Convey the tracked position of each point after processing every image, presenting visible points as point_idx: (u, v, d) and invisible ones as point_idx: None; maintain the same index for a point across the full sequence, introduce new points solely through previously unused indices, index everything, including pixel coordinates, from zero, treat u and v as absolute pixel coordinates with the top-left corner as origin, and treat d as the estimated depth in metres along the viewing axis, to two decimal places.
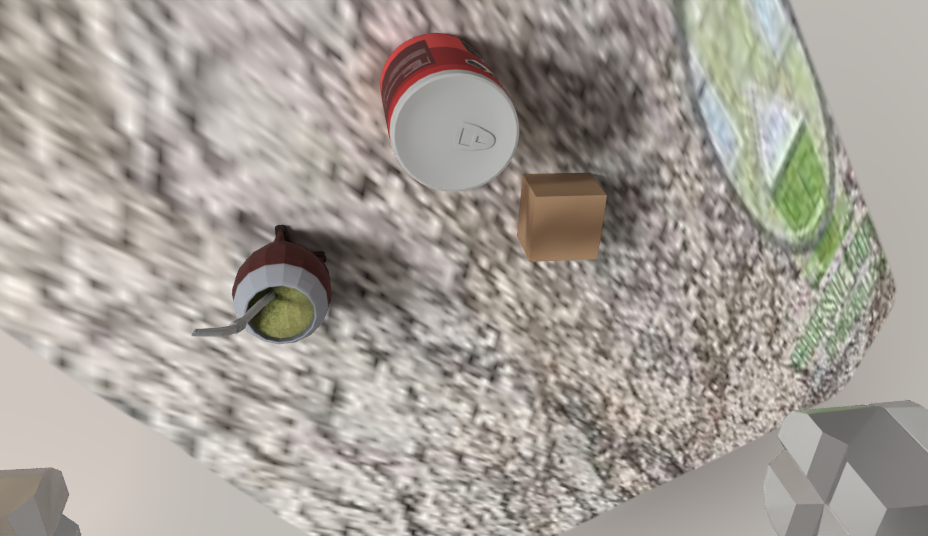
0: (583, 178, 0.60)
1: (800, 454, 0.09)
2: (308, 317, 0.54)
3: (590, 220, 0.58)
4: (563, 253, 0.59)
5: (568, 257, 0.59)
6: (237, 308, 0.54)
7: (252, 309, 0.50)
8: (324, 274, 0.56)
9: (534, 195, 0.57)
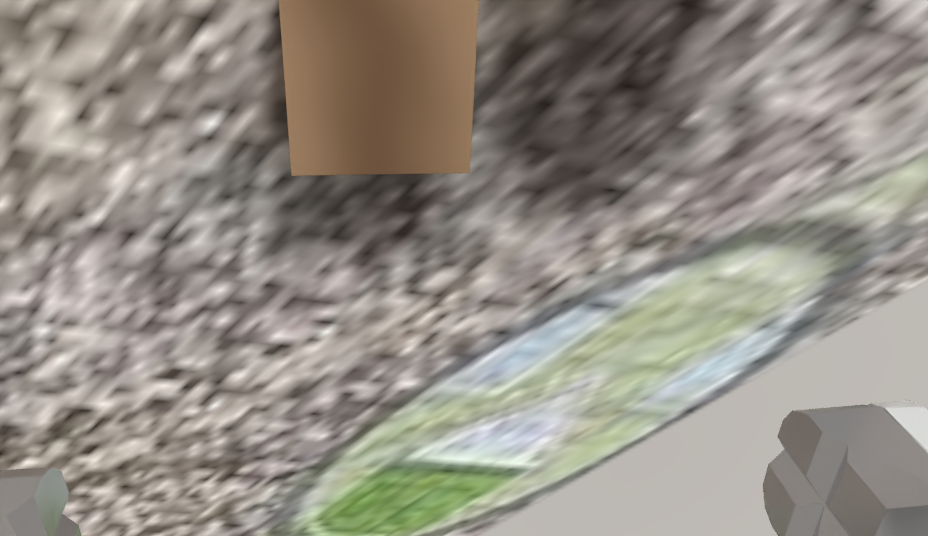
0: None
1: (800, 454, 0.09)
2: None
3: (404, 142, 0.23)
4: (306, 83, 0.22)
5: (294, 99, 0.22)
6: None
7: None
8: None
9: None
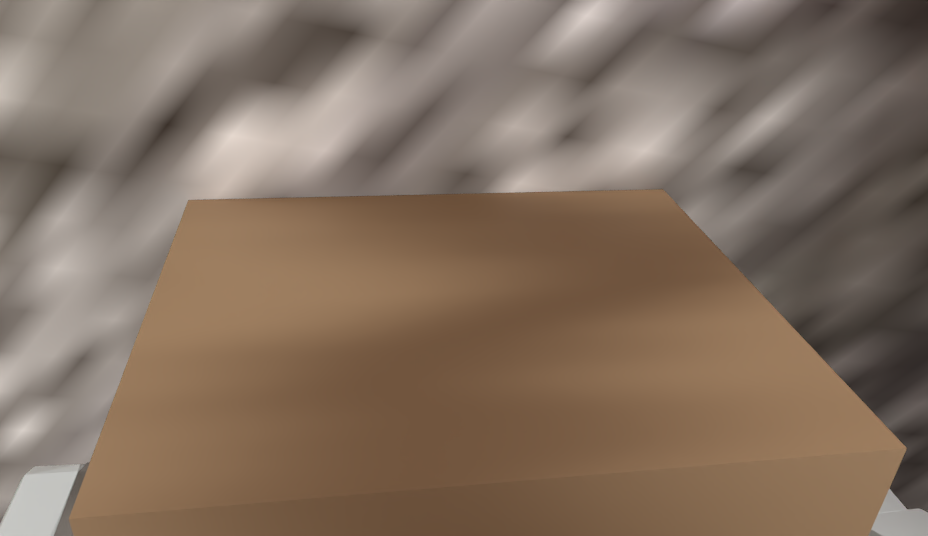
0: None
1: None
2: None
3: None
4: None
5: None
6: None
7: None
8: None
9: (857, 406, 0.06)
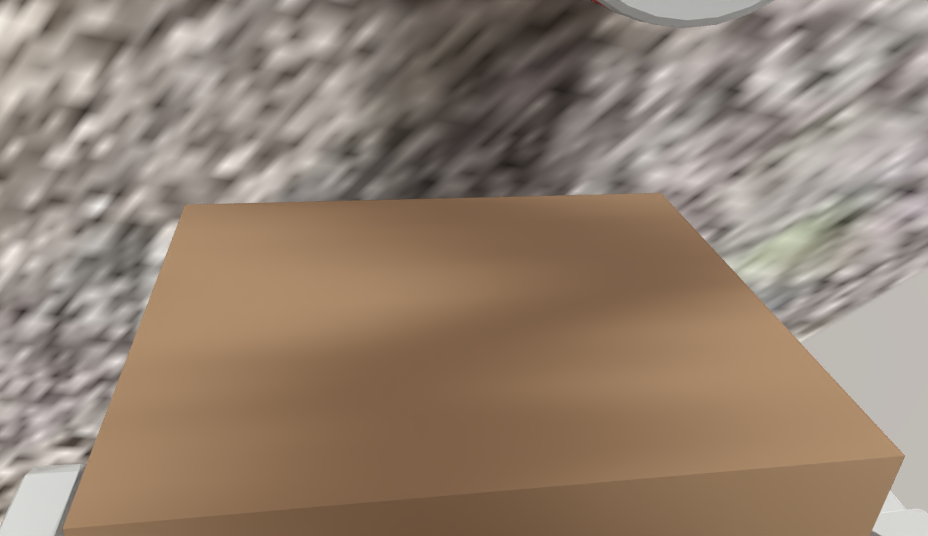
0: None
1: None
2: None
3: None
4: None
5: None
6: None
7: None
8: None
9: (855, 413, 0.06)
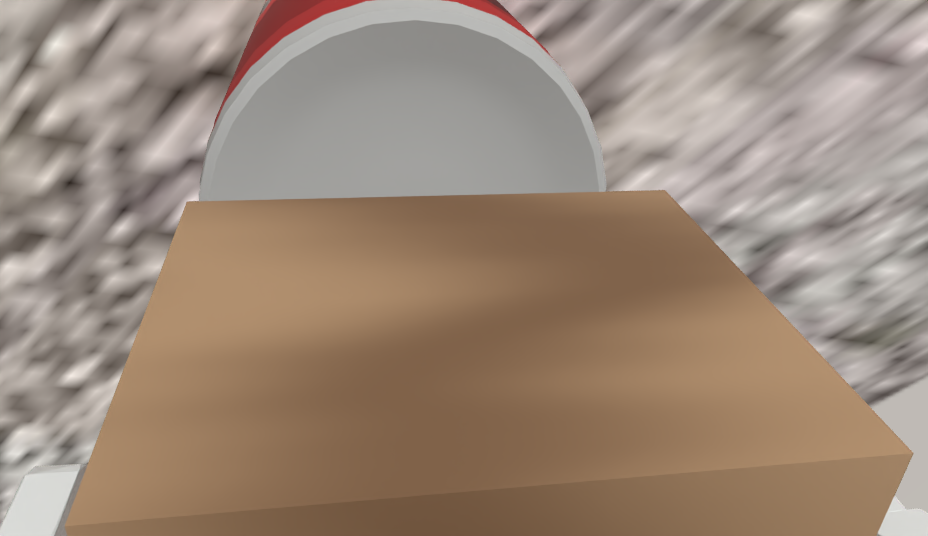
0: None
1: None
2: None
3: None
4: None
5: None
6: None
7: None
8: None
9: (861, 408, 0.06)
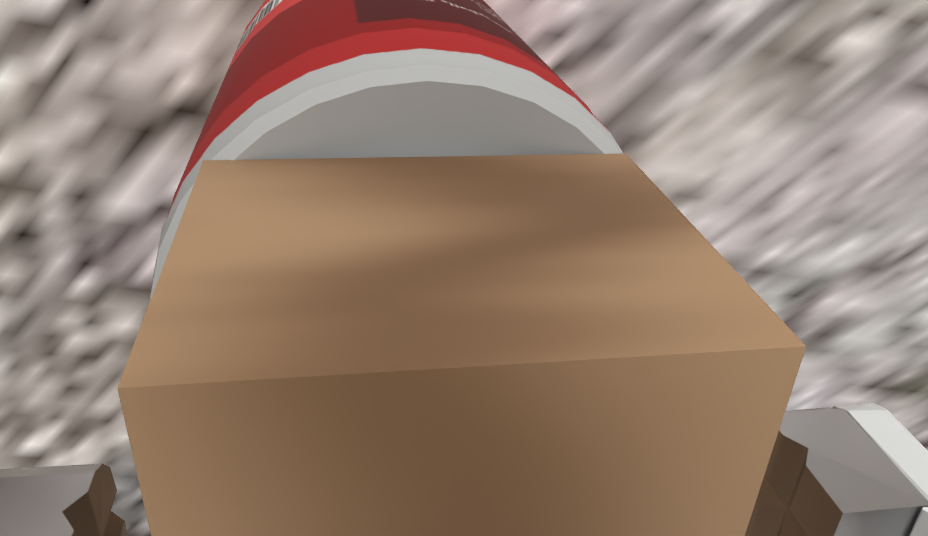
0: None
1: None
2: None
3: None
4: None
5: None
6: None
7: None
8: None
9: (769, 317, 0.07)
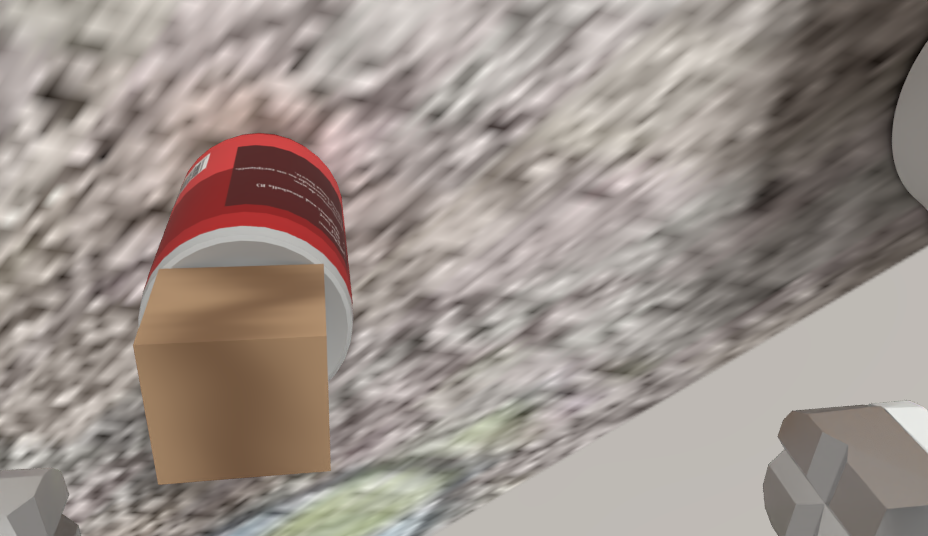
0: None
1: (800, 454, 0.09)
2: None
3: (265, 452, 0.25)
4: (167, 415, 0.23)
5: (156, 427, 0.23)
6: None
7: None
8: None
9: (323, 327, 0.23)
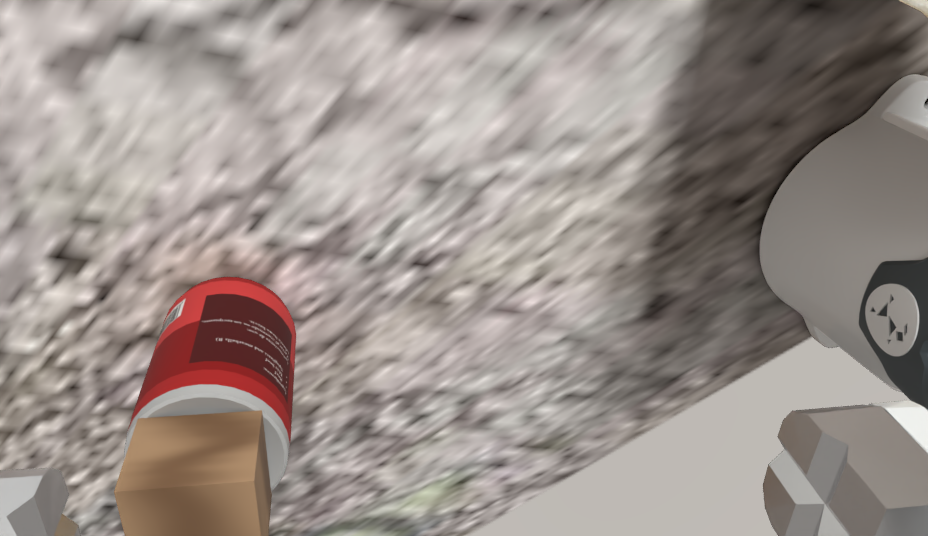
0: (268, 501, 0.37)
1: (800, 454, 0.09)
2: None
3: None
4: None
5: None
6: None
7: None
8: None
9: (253, 472, 0.32)
